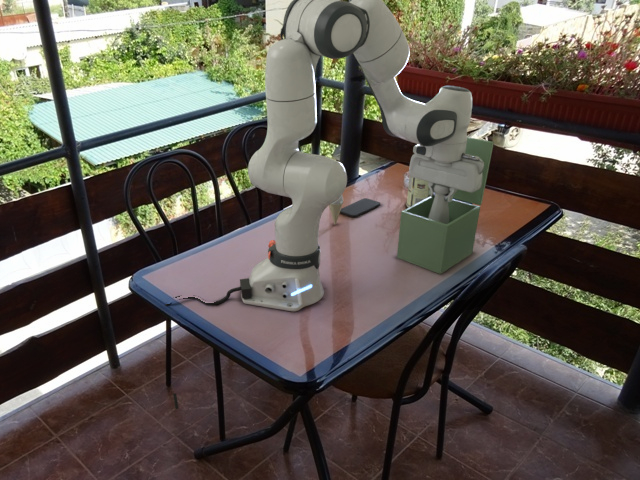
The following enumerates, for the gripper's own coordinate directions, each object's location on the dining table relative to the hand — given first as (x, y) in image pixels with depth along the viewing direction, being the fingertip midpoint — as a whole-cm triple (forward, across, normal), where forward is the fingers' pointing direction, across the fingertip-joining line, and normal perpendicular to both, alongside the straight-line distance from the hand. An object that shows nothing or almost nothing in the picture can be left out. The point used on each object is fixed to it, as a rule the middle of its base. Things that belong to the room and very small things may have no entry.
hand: (441, 199), depth 155 cm
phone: (+18, +38, -13) cm, 44 cm away
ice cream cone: (+18, +36, +2) cm, 40 cm away
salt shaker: (+9, 0, 0) cm, 9 cm away
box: (+18, 0, 0) cm, 18 cm away
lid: (-6, 0, -9) cm, 11 cm away
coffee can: (+18, +24, -29) cm, 42 cm away
